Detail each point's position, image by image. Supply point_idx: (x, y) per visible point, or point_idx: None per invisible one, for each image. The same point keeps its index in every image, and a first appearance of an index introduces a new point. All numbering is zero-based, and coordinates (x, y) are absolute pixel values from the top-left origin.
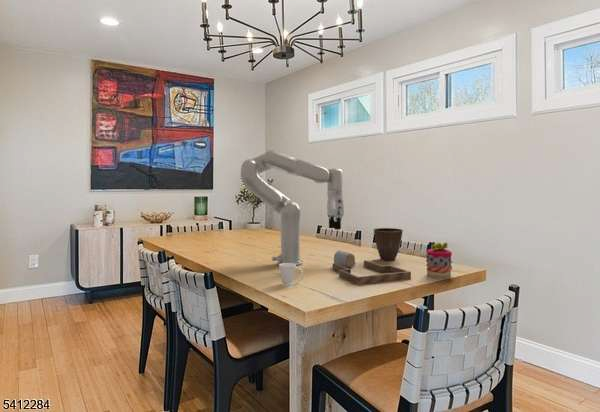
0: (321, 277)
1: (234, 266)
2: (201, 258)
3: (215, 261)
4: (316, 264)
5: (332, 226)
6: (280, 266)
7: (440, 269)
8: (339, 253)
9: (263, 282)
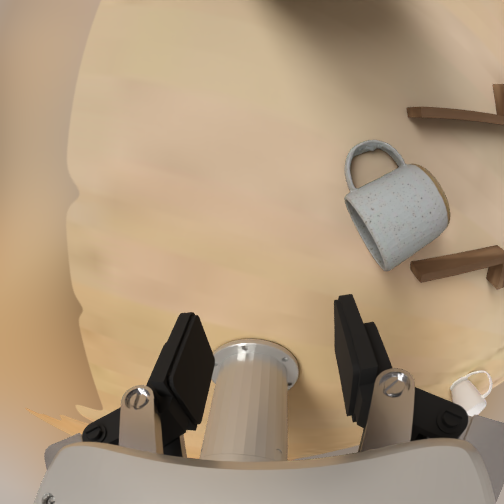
0: (464, 322)
1: None
2: None
3: (193, 452)
4: (295, 299)
5: (202, 348)
6: None
7: None
8: (409, 255)
9: None
